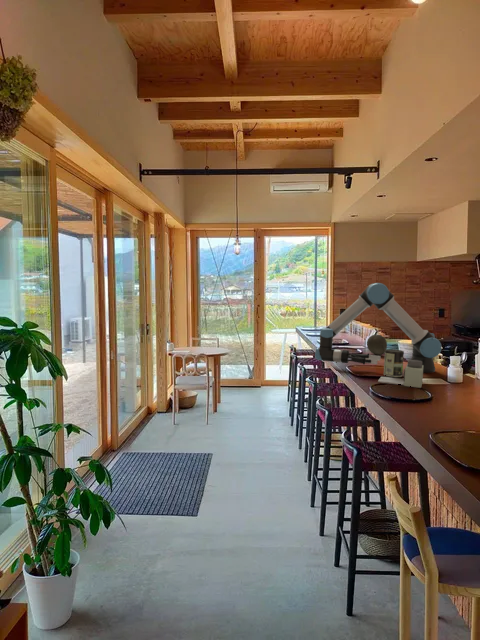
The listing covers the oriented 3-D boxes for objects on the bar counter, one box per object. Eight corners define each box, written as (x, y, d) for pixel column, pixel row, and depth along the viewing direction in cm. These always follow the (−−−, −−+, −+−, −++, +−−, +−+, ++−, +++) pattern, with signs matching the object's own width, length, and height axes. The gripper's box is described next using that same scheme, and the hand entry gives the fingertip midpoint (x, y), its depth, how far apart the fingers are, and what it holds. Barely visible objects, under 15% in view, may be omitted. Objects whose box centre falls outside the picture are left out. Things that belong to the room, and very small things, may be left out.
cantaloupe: (386, 354, 330) (387, 334, 329) (386, 357, 317) (387, 336, 316) (366, 353, 335) (367, 333, 333) (365, 355, 321) (367, 335, 320)
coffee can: (402, 374, 257) (404, 350, 255) (402, 378, 247) (403, 352, 246) (383, 372, 260) (385, 348, 259) (382, 376, 251) (384, 351, 249)
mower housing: (377, 382, 233) (379, 359, 232) (381, 377, 247) (382, 355, 246) (421, 387, 224) (422, 364, 223) (422, 381, 239) (423, 359, 238)
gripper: (345, 359, 276) (381, 363, 267) (336, 365, 253) (375, 370, 245) (346, 347, 275) (382, 350, 267) (337, 352, 253) (376, 356, 244)
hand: (379, 360), depth 256 cm, fingers open, 13 cm apart
